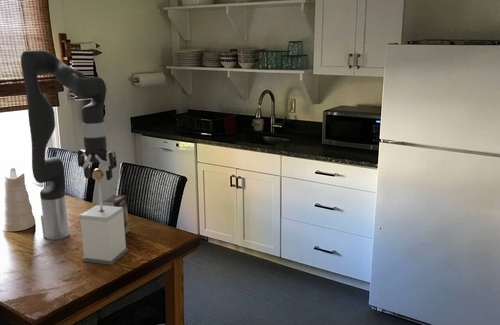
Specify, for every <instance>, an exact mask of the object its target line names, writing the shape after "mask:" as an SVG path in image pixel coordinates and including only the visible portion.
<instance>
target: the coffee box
mask: <svg viewBox="0 0 500 325" xmlns="http://www.w3.org/2000/svg"><path fill="white" fill-rule="evenodd" d="M127 202H128V200H127V195H119V194H117V195H116V194H115V195H114V194H113V195H111V196H109V197H108V198H106V199H105V200H102V204H103V206H114V207H123V217H124V229H125V235H126V234H127V233H129V230H130V228H129V215H128V203H127Z"/></svg>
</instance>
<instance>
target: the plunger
mask: <svg viewBox="0 0 500 325" xmlns="http://www.w3.org/2000/svg"><path fill="white" fill-rule="evenodd" d="M105 176H106V172H105V171H104V170H103V169H102V168H101V167H100V168H95V169H94V170H93V171H92V172H91V177H92V179H93V180H95V181H97V188H98V202H99V205H100V212H103V196H102V184H101V183H102V182H101V181H102V180H104V178H105Z"/></svg>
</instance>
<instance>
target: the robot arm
mask: <svg viewBox="0 0 500 325" xmlns="http://www.w3.org/2000/svg"><path fill="white" fill-rule="evenodd" d="M20 65H21V72H22V77H23V82H24V87H25V94H26V102H27V111H28V112H27V115H28V123H29V124H28V125H29V130H30V139H31V168H32V169H31V171H32V175H33V178H34V180H35V182H37V183H39V184H45V183H48V182H49V183H48V184H47V185H46V186H45V187H44V188H42V189H41V190H40V192H39V195H40V204H41V210H42V211H41V212H42V215H40V222H41V230H42V236H43V238H45V239H47V240H49V241H54V240H55V241H57V240H62V239H65V238H67V237H68V236H69V235H70V228H69V221H68V210H67V202H66V192H65V191H66V179H65V176H66V175H65V173H66V172H65V167H64V162H63V161H62V159H61V158H60V157H57V156H53V157H48V158H46V149H47V145H48V143H49V141H50V139H51V138H52V135H53V133H54V131H55V128H56V118H55V110H54V108H53V105H52V104H51V103H50V101H49V100H48V98H46V96H45V94H44V93H43V92H42V90H41V88H40V85H39V81H38V77H39V76H47V75H53V76H55V78H56V80H57V82H58V83H59V84H60V85H62V86H63V87H66V88H67V89H69V90H71V92H72V93H73V94H74V95H75V97H77V98H79V99H83V100H84V99H85V100H88V99H91V100H90V103H88V104H87V105H84V106H83V107H81V117H82V118H81V119H82V134H83V145H84V147H83V148H84V149H83V148H81V149H79V150H77V166H78V167H79V168H80V167H81V168H82V169H83V173H84V174H83V176H84V177H85V179H86V180H88V179H90V178H91V177H92V173H91V168H90V166H91V164H100V165H101V166H103V167H104V168H105V176H106V178H105V179H106V181H110V180H112V178H113V177H114V176H113V170H114V169H115V168H117V167H118V165H117V156H116V151H114V150H112V151H107V150H108V149H107V146H108V145H107V133H106V124H105V120H104V106H105V101H106V94H107V85H106V83H105V80H104V79H103V78H101V77H99V76H93V77H86V75H85V74H84V73H83V72H81V71H79V70H77V69H75V68H73V67H70V66H69V65H67V64H66V63H64V62H63V61H62V60H60V58H58V57H57V56H55V54H53V53H52V52H50V51H48V50H44V49H42V50H40V49H39V50H24V51H23V52H22V53H21V56H20ZM85 156H86V157H85Z"/></svg>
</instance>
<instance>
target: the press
mask: <svg viewBox="0 0 500 325" xmlns="http://www.w3.org/2000/svg"><path fill="white" fill-rule="evenodd" d="M79 221H80V222H79V223H80V230H81V240H82V241H81V242H82V249H83V257H81V258H82V259H81V260H82V262H85V263H86V262H87V263H93V264H94V263H95V264H102V265H103V264H104V265H110V266H112V265H113V264H114V263H115V262H117V261H118V260H119V259H120V258H121V257H123V256H124V255H125V254H126V253H127V252H129V247H127V243H126V234H125V229H124V217H123V207H114V206H103V212H100V204H97V205H95V206H92V207H91V208H89V209H88V210H86V211H84V212H82V213H81V214H79Z"/></svg>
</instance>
